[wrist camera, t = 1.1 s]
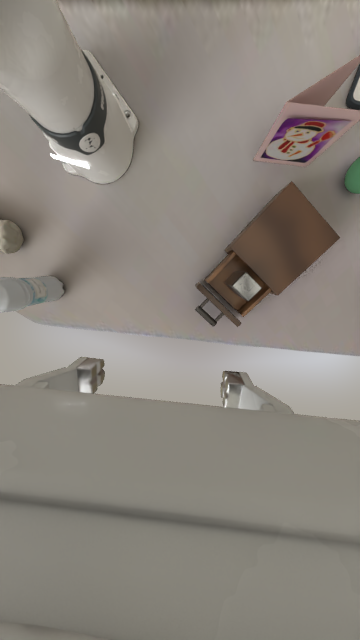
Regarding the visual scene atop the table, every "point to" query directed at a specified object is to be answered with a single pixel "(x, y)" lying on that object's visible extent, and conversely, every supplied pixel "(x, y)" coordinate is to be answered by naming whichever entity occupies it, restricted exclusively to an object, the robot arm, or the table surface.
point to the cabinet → (283, 239)
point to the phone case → (354, 93)
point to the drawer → (217, 282)
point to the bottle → (28, 292)
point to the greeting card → (309, 123)
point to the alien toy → (353, 177)
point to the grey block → (243, 285)
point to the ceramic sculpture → (10, 237)
